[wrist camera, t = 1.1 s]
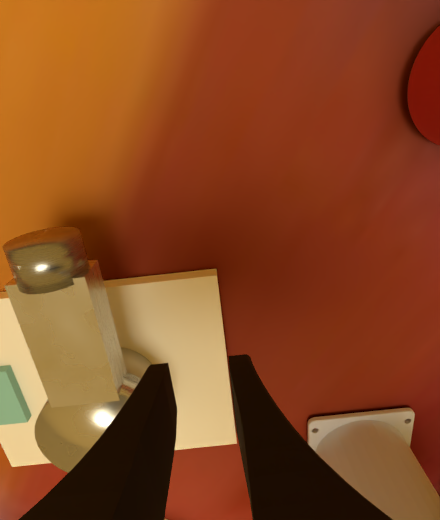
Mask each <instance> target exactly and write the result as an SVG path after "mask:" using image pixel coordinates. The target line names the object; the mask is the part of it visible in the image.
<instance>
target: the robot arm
mask: <svg viewBox="0 0 440 520" xmlns="http://www.w3.org/2000/svg"><path fill="white" fill-rule="evenodd" d="M229 367H230V377H231V385H232V394H233V403H234V411H235V420H236V428H237V435H238V440H239V446H240V451H241V456H242V461H243V467H244V472H245V477H246V482H247V487H248V493H249V498H250V504H251V510H252V517H253V520H440V497H439V495H438V494H437V492H436V490H435V489H434V487H433V485H432V484H431V482H430V480H429V479H428V477H427V475H426V474H425V472H424V470H423V469H422V467H421V465H420V464H419V462H418V460H417V459H416V457H415V455H414V454H413V452H412V450H411V449H410V443H411V436H412V430H413V423H414V417H415V413H414V412H413V410H412V409H411V408H398V409H388V410H379V411H369V412H359V413H350V414H340V415H331V416H321V417H313V418H310V419H309V420H308V423H307V426H308V443H307V442H306V441H305V440H304V439H303V438H302V437H301V436H300V434H299V433H298V432H297V431H296V430H295V428H294V427H293V426H292V425H291V424H290V422H289V421H288V420H287V418H286V417H285V416H284V414H283V413H282V412H281V410H280V409H279V408H278V406H277V405H276V403H275V402H274V400H273V399H272V397H271V396H270V394H269V393H268V391H267V390H266V388H265V387H264V385H263V383H262V381H261V380H260V378H259V376H258V374H257V372H256V370H255V368H254V366H253V364H252V361H251V358H250V357H249V356H248V355H247V354H246V355H236V356H229ZM314 428H315V429H314ZM176 429H177V405H176V400H175V395H174V390H173V385H172V380H171V375H170V370H169V365H168V363H161V364H151V365H150V366H149V367H148V368H147V370H146V371H145V373H144V375H143V376H142V378H141V379H140V381H139V383H138V384H137V386H136V387H135V389H134V390H133V392H132V394H131V395H130V397H129V398H128V400H127V401H126V402H125V404H124V405H123V407H122V408H121V410H120V411H119V413H118V414H117V415H116V417H115V418H114V419H113V421H112V422H111V423H110V425H109V426H108V427H107V429H106V430H105V431H104V433H103V434H102V435H101V436H100V438H99V439H98V440H97V441H96V443H95V444H94V445H93V446H92V447H91V449H90V450H89V451H88V452H87V453H86V454H85V455H84V457H83V458H82V459H81V460H80V461H79V462H78V463H77V464H76V466H75V467H74V468H73V469H72V470H71V471H70V472H69V473H68V474H67V475H66V476H65V477H64V478H63V479H62V480H61V481H60V482H59V483H58V484H57V485H56V486H55V487H54V488H53V489H52V490H51V491H50V492H49V493H48V494H47V495H46V496H45V497H44V498H43V499H41V500H40V501H39V502H38V503H37V504H36V505H35V506H34V507H33V508H31V509H30V510H29V511H28V512H27V513H26V514H25V515H23V516H22V517H21V518H20V519H19V520H164V517H165V509H166V502H167V496H168V489H169V483H170V476H171V469H172V463H173V456H174V449H175V442H176Z"/></svg>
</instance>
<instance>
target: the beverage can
mask: <svg viewBox="0 0 440 520" xmlns="http://www.w3.org/2000/svg"><path fill="white" fill-rule="evenodd" d="M408 107H409V111H410V115H411V118H412V120H413V122H414V124H415V126H416V127H417V129H418V130H419V132H420V133H421V134H422V135H423V136H424V137H425V138H427V139H428V140H429V141H431V142H433V143H435V144H437V145H440V25H439V26H438V27H437V28H436V29H435V31H434V32H433V33H432V34H431V35H430V36H429V38H428V39H427V40H426V42H425V43H424V45H423V46H422V48H421V49H420V51H419V53H418V55H417V57H416V59H415V62H414V64H413V67H412V70H411V73H410V77H409V83H408Z"/></svg>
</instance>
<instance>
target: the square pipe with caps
mask: <svg viewBox="0 0 440 520" xmlns="http://www.w3.org/2000/svg"><path fill="white" fill-rule="evenodd" d="M3 250H4V252H5V255H6V258H7V260H8V263H9V266H10V268H11V271H12V274H13V277H14V278H13V279H12V280H11V281H9V282H8V283H7V284H6V285H5V289H6V291H7V294H8V297H9V299H10V302H11V304H12V307H13V310H14V312H15V315H16V317H17V320H18V323H19V325H20V328H21V330H22V333H23V335H24V338H25V341H26V343H27V346H28V348H29V351H30V354H31V356H32V359H33V361H34V364H35V367H36V369H37V372H38V374H39V377H40V379H41V382H42V385H43V387H44V390H45V392H46V395H47V398H48V399H47V401H46V403H45V405H44V406H43V408H42V410H41V412H40V414H39V415H38V418H37V420H36V423H35V431H34V433H35V439H36V442H37V445H38V447H39V449H40V451H41V452H42V453H43V455H44V456H45V457H46V458H47V459H48V460H49V461H50V462H51V463H53V464H54V465H55V466H57V467H58V468H60V469H62V470H64V471H66V472H68V473H69V472H70V471H71V470H72V469H73V468H74V467H75V466H76V464H77V463H78V462H79V461H80V460H81V459H82V458H83V457H84V455H85V454H86V453H87V452H88V451H89V450H90V449H91V447H92V446H93V445H94V444H95V443H96V441H97V440H98V439H99V438H100V436H101V435H102V434H103V433H104V431H105V430H106V429H107V427H108V426H109V425H110V423H111V422H112V421H113V419H114V418H115V417H116V415H117V414H118V413H119V411H120V410H121V408H122V407H123V405H124V404H125V402H126V401H127V400H128V398H129V397H130V395H131V394H132V392H133V390H134V389H135V387H136V386H137V384H138V383H139V381H140V379H141V378H139V377H137V376H135V375H133V374H131V373H128V372H127V370H126V366H125V362H124V358H123V355H122V351H121V347H120V343H119V339H118V335H117V332H116V328H115V324H114V320H113V316H112V312H111V309H110V305H109V301H108V297H107V293H106V289H105V286H104V282H103V278H102V274H101V270H100V266H99V263H98V260H90V261H88V258H87V255H86V251H85V248H84V244H83V240H82V237H81V233H80V230H79V229H78V228H76V227H55V228H48V229H43V230H38V231H34V232H30V233H27V234H24V235H21V236H19V237H16V238H14V239H12V240H10V241H8V242H7V243H5V244H4V246H3Z"/></svg>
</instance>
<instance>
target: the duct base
mask: <svg viewBox="0 0 440 520" xmlns="http://www.w3.org/2000/svg"><path fill="white" fill-rule="evenodd" d="M103 282H104V286H105V289H106V293H107V297H108V301H109V305H110V309H111V312H112V316H113V320H114V324H115V328H116V332H117V335H118V339H119V343H120V347H121V351H122V355H123V358H124V362H125V366H126V370H127V372H128V373H131V374H133V375H135V376H137V377H139V378H142V376H143V375H144V373H145V371H146V370H147V368H148V367H149V366H150V365H151V364H161V363H168V365H169V370H170V375H171V380H172V385H173V390H174V395H175V400H176V405H177V429H176V442H175V449H174V450H180V449H189V448H199V447H208V446H218V445H228V444H237V440H236V429H235V421H234V412H233V404H232V396H231V387H230V379H229V370H228V362H227V353H226V345H225V336H224V328H223V319H222V311H221V302H220V294H219V285H218V277H217V269H207V270H198V271H189V272H180V273H171V274H161V275H152V276H143V277H134V278H124V279H115V280H106V281H103ZM47 399H48V398H47V395H46V392H45V390H44V387H43V385H42V382H41V379H40V377H39V374H38V372H37V369H36V367H35V364H34V361H33V359H32V356H31V354H30V351H29V348H28V346H27V343H26V341H25V338H24V335H23V333H22V330H21V328H20V325H19V323H18V320H17V317H16V315H15V312H14V310H13V307H12V304H11V302H10V299H9V297H8V294H7V291H5V292H0V443H1V445H2V447H3V449H4V451H5V453H6V455H7V457H8V460H9V462H10V464H11V466H12V467H16V466H25V465H35V464H45V463H51V462H50V461H49V460H48V459H47V458H46V457H45V456H44V455H43V453H42V452H41V451H40V449H39V447H38V445H37V442H36V439H35V433H34V431H35V423H36V420H37V418H38V415H39V414H40V412H41V410H42V408H43V406H44V405H45V403H46V401H47Z"/></svg>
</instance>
